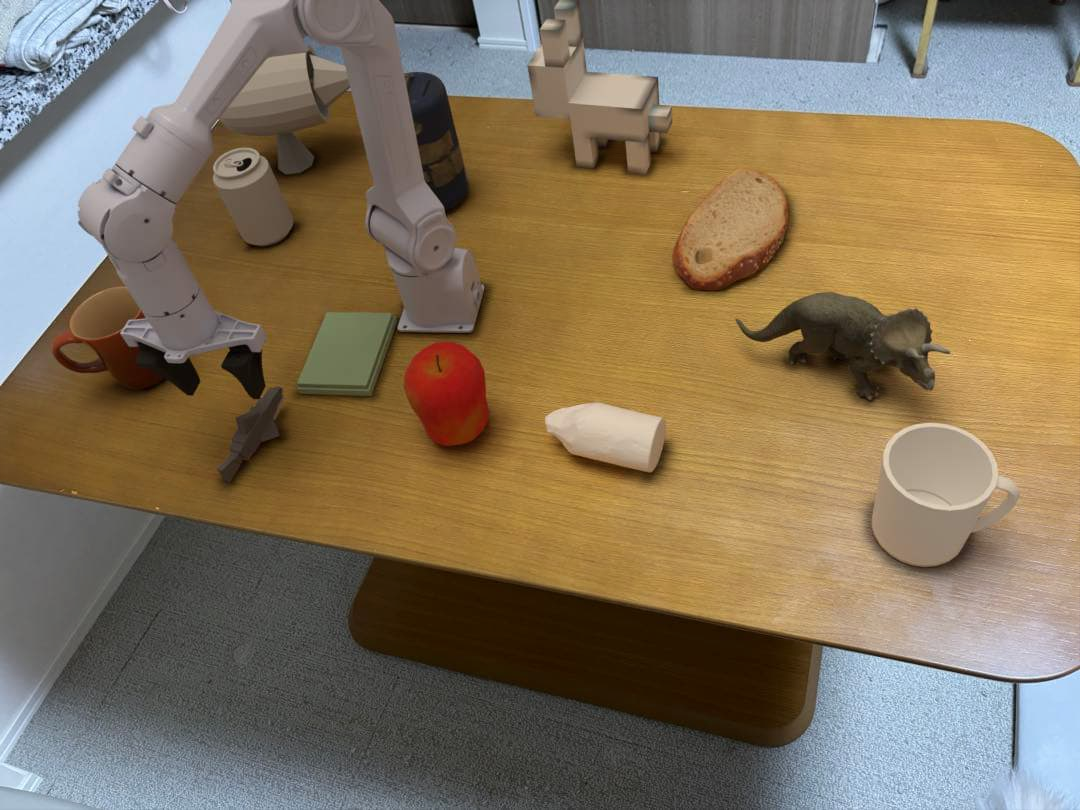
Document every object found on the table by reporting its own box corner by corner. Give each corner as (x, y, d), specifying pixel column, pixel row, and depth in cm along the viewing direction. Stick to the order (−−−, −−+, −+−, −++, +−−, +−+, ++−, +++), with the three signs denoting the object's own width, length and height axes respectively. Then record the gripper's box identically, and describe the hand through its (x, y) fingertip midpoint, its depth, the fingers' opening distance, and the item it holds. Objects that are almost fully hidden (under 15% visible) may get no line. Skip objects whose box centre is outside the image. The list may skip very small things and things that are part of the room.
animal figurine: (247, 492, 98) (224, 472, 94) (217, 479, 100) (192, 460, 95) (304, 401, 102) (283, 378, 98) (274, 391, 104) (252, 368, 100)
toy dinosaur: (728, 349, 99) (730, 274, 91) (769, 304, 103) (775, 228, 94) (917, 440, 88) (940, 364, 80) (956, 385, 92) (983, 308, 83)
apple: (427, 399, 101) (399, 327, 92) (500, 394, 100) (479, 320, 91) (418, 461, 96) (388, 391, 87) (495, 457, 94) (473, 385, 85)
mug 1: (175, 335, 114) (136, 275, 106) (190, 377, 109) (150, 318, 101) (84, 375, 112) (37, 317, 104) (94, 421, 106) (45, 363, 99)
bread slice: (760, 172, 118) (762, 148, 115) (831, 253, 107) (834, 228, 104) (634, 213, 116) (632, 190, 114) (692, 300, 105) (692, 277, 102)
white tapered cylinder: (560, 414, 97) (553, 381, 93) (667, 438, 93) (665, 404, 89) (540, 457, 94) (532, 425, 89) (649, 484, 90) (647, 451, 85)
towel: (397, 321, 110) (394, 311, 109) (371, 396, 103) (367, 386, 101) (329, 320, 112) (325, 310, 110) (299, 394, 104) (294, 384, 103)
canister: (392, 214, 124) (353, 98, 110) (422, 173, 129) (388, 57, 115) (453, 224, 120) (420, 106, 107) (482, 181, 126) (454, 63, 112)
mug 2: (859, 558, 81) (875, 496, 73) (873, 480, 86) (890, 413, 78) (990, 590, 78) (1023, 528, 70) (998, 506, 83) (1029, 439, 75)
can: (284, 250, 122) (249, 178, 113) (235, 249, 124) (197, 178, 115) (303, 215, 127) (272, 143, 117) (256, 214, 128) (221, 143, 119)
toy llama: (663, 176, 121) (657, 36, 105) (543, 162, 126) (521, 28, 111) (678, 143, 125) (674, 4, 109) (561, 131, 130) (542, -2, 115)
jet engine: (340, 203, 127) (297, 93, 114) (231, 182, 134) (178, 76, 121) (392, 142, 135) (357, 32, 122) (286, 125, 142) (243, 20, 129)
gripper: (81, 323, 83) (148, 415, 93) (222, 328, 80) (275, 423, 90) (116, 272, 87) (177, 366, 98) (251, 275, 84) (299, 371, 95)
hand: (226, 390), depth 94 cm, fingers open, 7 cm apart
